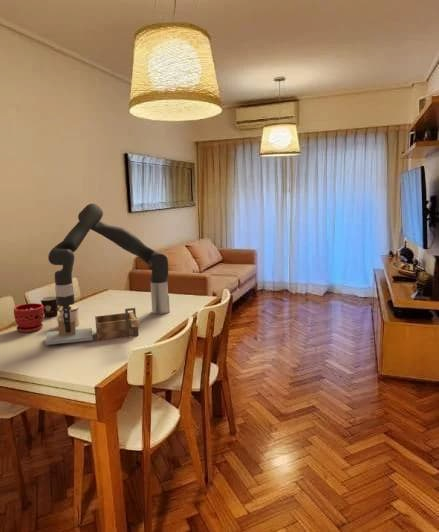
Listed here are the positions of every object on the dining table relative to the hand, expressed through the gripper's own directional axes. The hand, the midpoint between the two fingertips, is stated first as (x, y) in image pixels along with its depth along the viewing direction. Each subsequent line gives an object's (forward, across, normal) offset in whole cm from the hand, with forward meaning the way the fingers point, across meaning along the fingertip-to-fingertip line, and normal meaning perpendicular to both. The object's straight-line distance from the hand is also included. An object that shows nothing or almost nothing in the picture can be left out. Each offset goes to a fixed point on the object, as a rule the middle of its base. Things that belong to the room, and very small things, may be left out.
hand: (68, 330), depth 175 cm
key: (-5, +17, +27) cm, 32 cm away
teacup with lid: (+4, -21, -1) cm, 21 cm away
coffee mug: (+4, -43, -9) cm, 44 cm away
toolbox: (+4, +1, +21) cm, 21 cm away
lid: (+3, +1, 0) cm, 3 cm away
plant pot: (+4, -23, -18) cm, 29 cm away
